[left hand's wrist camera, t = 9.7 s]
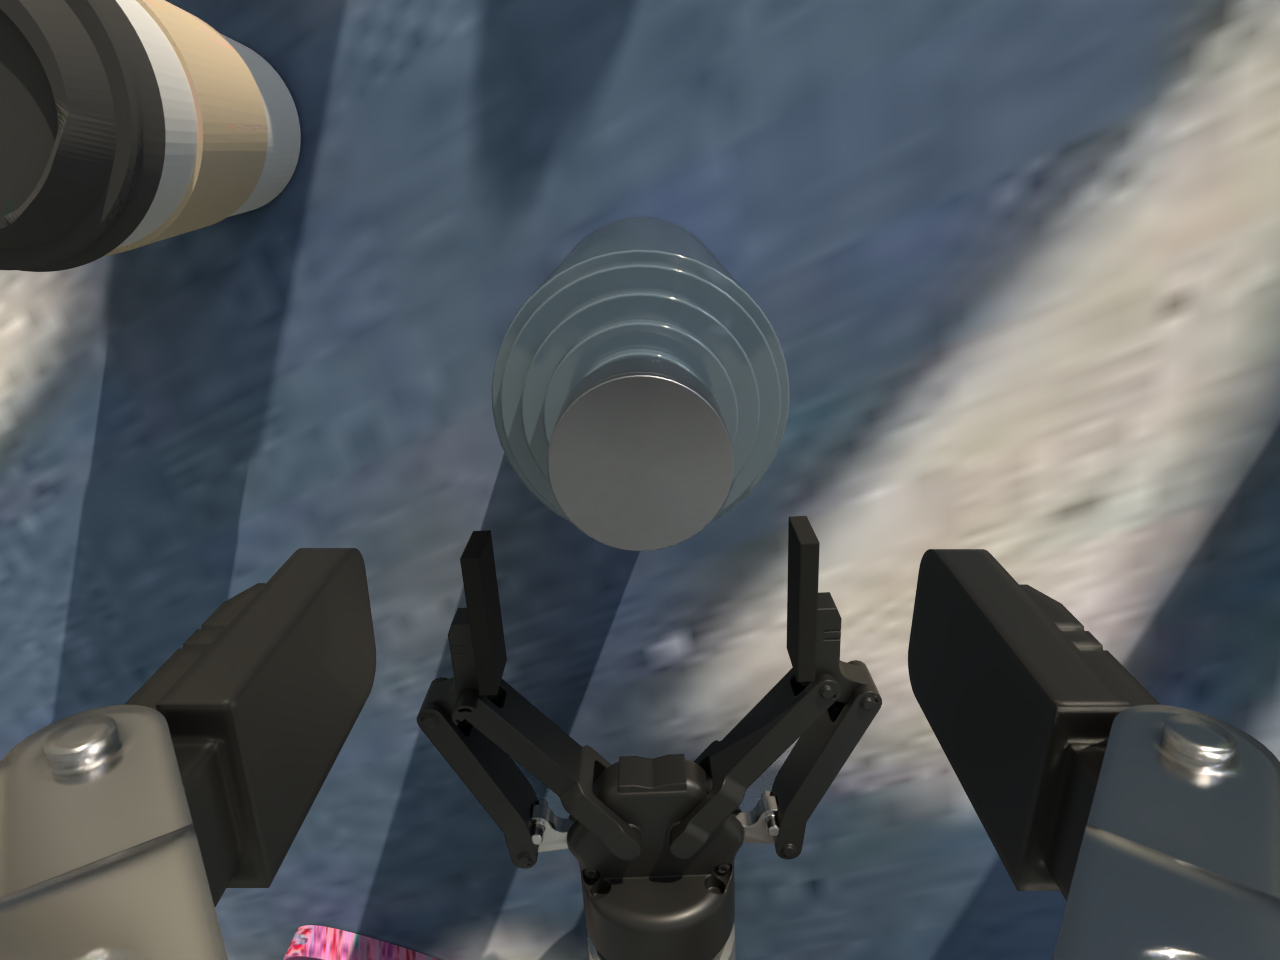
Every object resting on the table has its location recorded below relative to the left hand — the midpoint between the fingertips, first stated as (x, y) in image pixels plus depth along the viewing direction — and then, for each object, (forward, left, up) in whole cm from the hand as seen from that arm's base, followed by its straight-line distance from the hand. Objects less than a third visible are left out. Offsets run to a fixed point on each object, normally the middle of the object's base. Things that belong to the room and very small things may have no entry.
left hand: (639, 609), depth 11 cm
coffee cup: (+18, +6, -27) cm, 33 cm away
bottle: (0, 0, -27) cm, 27 cm away
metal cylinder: (0, 0, -6) cm, 6 cm away
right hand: (-6, +6, -21) cm, 22 cm away
